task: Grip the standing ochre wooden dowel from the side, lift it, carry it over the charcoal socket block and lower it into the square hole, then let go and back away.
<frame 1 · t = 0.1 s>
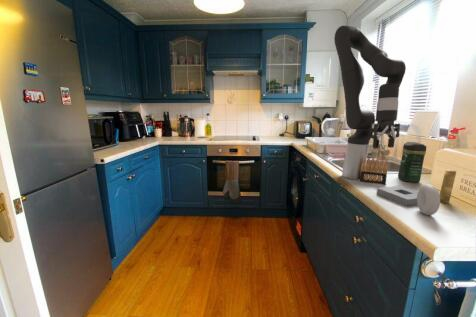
hand: (383, 147, 97), 17 cm above the worktop, tool pointing down, fingers open, 8 cm apart
socket block: (402, 197, 87), on the worktop
ammunition clip: (371, 182, 106), on the worktop
donut: (424, 214, 74), on the worktop
dowel: (443, 201, 85), on the worktop
coffee jar: (408, 180, 110), on the worktop
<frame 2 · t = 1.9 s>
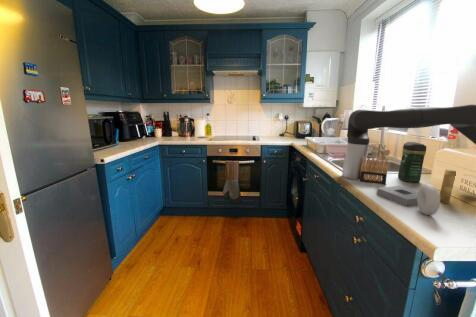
hand: (467, 180, 86), 7 cm above the worktop, tool horizontal, fingers open, 8 cm apart
nothing on the worktop moved.
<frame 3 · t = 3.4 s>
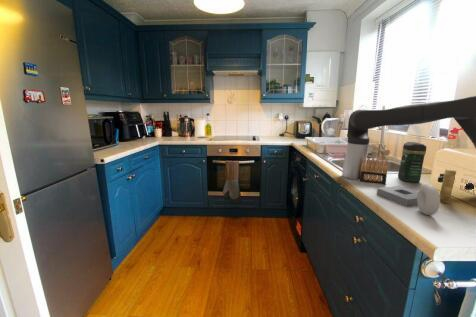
hand: (452, 183, 84), 7 cm above the worktop, tool horizontal, fingers open, 8 cm apart
nothing on the worktop moved.
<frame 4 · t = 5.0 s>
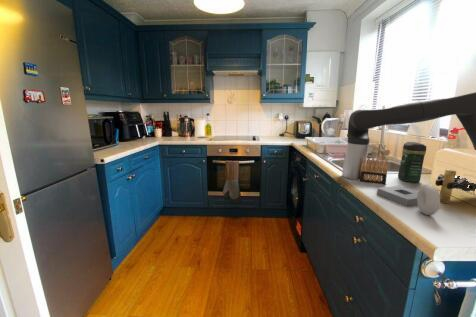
hand: (442, 184, 82), 7 cm above the worktop, tool horizontal, fingers closed on dowel, 3 cm apart
dowel: (443, 201, 84), on the worktop, touching gripper
everything else where it was.
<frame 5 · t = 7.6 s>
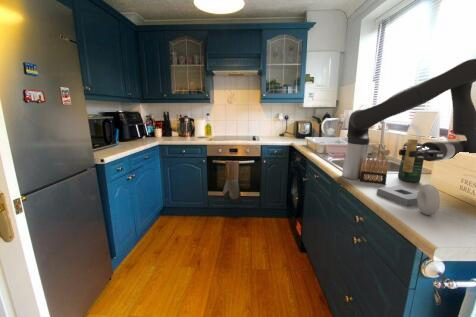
hand: (405, 153, 83), 18 cm above the worktop, tool horizontal, fingers closed on dowel, 3 cm apart
dowel: (407, 171, 85), point 11 cm above the worktop, touching gripper
everything else where it was.
when the fingers open (8 cm above the worktop, at t = 10.1 s): dowel stays where it is, resting in socket block.
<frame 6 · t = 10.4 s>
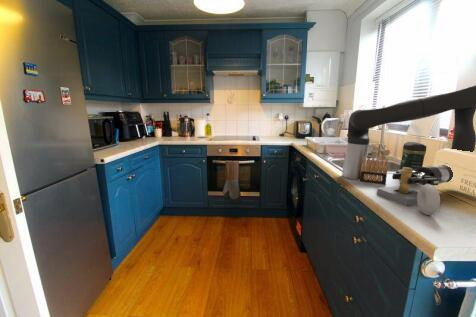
hand: (400, 178, 85), 8 cm above the worktop, tool horizontal, fingers open, 5 cm apart
dowel: (402, 197, 87), resting in socket block
everything else where it was.
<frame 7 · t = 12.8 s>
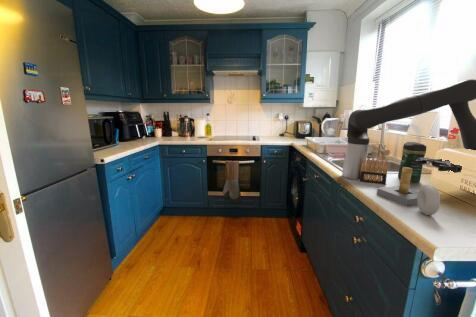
hand: (427, 165, 89), 12 cm above the worktop, tool horizontal, fingers open, 8 cm apart
nothing on the worktop moved.
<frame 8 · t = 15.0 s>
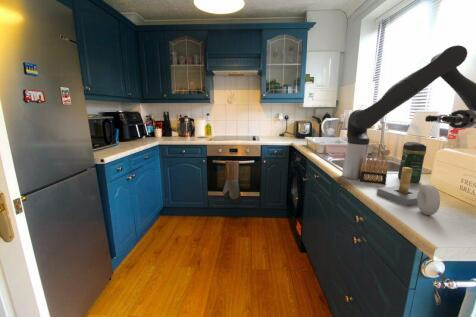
hand: (438, 119, 87), 30 cm above the worktop, tool horizontal, fingers open, 8 cm apart
nothing on the worktop moved.
at the end: dowel 0.1 cm off-centre on the socket block, point 0.0 cm above the socket block's base; dowel tilted 0°; the gripper is holding nothing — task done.
